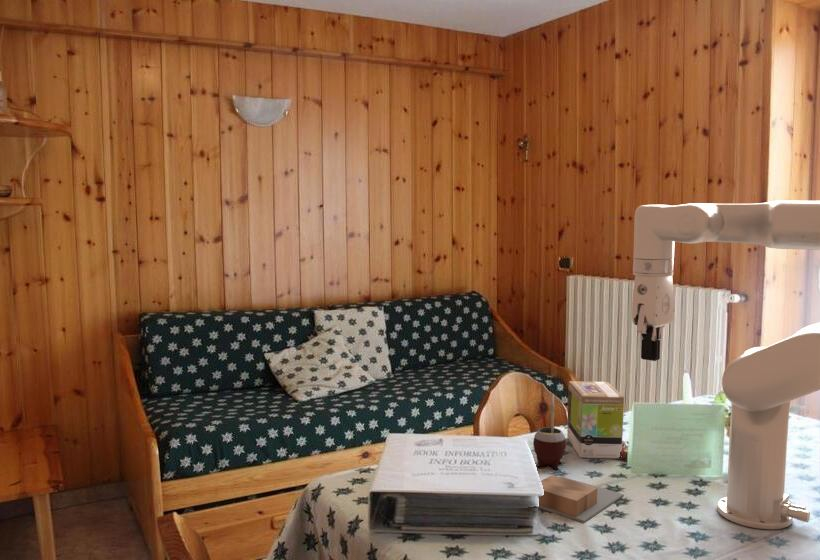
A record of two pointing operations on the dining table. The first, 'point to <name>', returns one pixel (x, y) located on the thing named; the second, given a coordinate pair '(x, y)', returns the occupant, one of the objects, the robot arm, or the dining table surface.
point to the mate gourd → (549, 444)
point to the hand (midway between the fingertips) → (650, 359)
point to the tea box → (595, 419)
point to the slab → (567, 495)
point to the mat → (603, 501)
